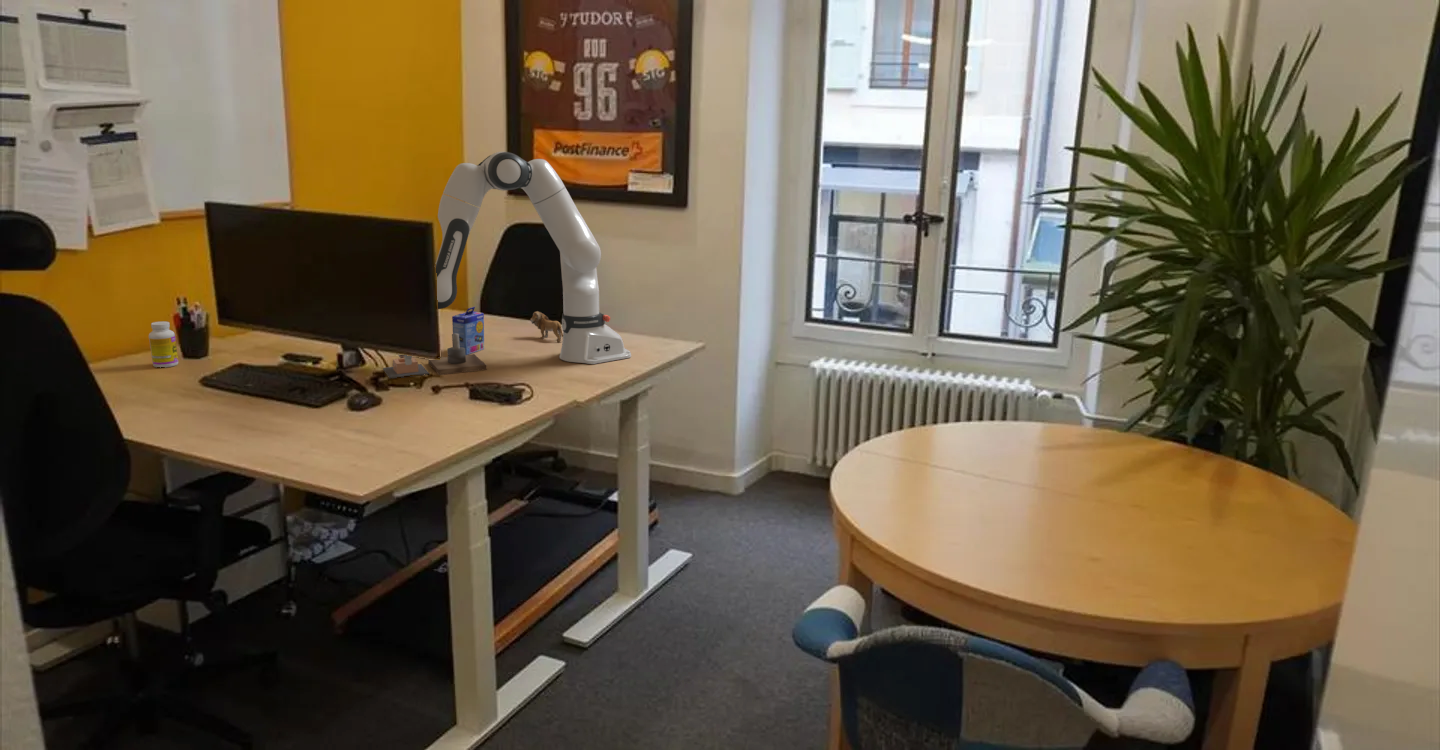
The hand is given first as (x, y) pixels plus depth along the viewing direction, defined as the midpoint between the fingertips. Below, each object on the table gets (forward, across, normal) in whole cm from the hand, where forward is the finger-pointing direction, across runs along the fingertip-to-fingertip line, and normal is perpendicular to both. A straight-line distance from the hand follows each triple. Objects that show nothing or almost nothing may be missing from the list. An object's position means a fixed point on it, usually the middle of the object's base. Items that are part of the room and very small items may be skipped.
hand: (405, 360), depth 280 cm
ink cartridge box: (+4, +17, -23) cm, 29 cm away
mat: (+3, 0, 0) cm, 3 cm away
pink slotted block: (+3, 0, 0) cm, 3 cm away
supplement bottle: (+4, +36, +62) cm, 72 cm away
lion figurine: (+4, +23, -51) cm, 56 cm away
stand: (+3, 0, -15) cm, 15 cm away
